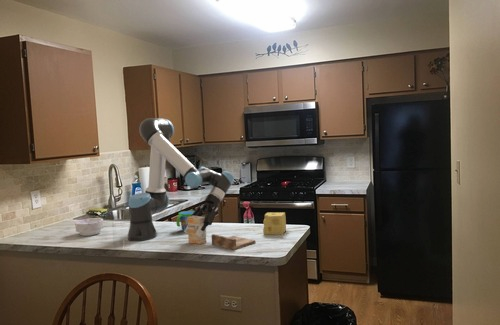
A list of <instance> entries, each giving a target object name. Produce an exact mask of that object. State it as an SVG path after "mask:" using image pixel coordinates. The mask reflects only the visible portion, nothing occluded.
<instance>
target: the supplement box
mask: <svg viewBox="0 0 500 325" xmlns="http://www.w3.org/2000/svg"><path fill="white" fill-rule="evenodd" d="M204 220H205V216H189V217H187V222H188V243H189V244H197V245H198V244H199V245H202V244H205V243H207V228H206V229H205V230H204V231H203V233H202V234H201V236H200V237H198V236H197V235H196V232H197V231H198V229H199V227H200V226H201V224H202V223H203V222H204ZM203 224H204V223H203Z"/></svg>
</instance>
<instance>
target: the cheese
mask: <svg viewBox="0 0 500 325" xmlns="http://www.w3.org/2000/svg"><path fill="white" fill-rule="evenodd" d="M286 219H287V218H286V212H266V213H265V214H264V219H263V228H262V231H263V232H262V233H263V235H273V236H274V235H278V236H281V235H282V236H283V235H284V233H285V232H286V230H287V220H286Z"/></svg>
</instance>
